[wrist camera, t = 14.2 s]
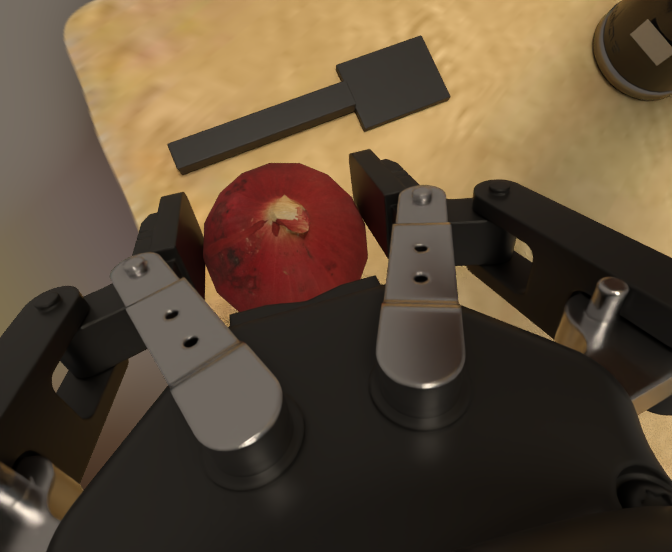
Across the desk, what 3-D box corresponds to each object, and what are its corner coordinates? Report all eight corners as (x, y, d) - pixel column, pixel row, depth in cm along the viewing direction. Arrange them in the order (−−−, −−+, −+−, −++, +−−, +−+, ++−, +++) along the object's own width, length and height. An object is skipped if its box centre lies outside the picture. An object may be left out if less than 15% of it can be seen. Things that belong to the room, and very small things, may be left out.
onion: (257, 347, 17) (216, 366, 9) (206, 231, 18) (126, 155, 10) (373, 293, 18) (428, 267, 10) (321, 183, 18) (334, 76, 10)
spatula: (419, 39, 34) (423, 28, 32) (448, 99, 33) (454, 91, 32) (163, 129, 31) (157, 121, 30) (191, 197, 30) (186, 191, 29)
